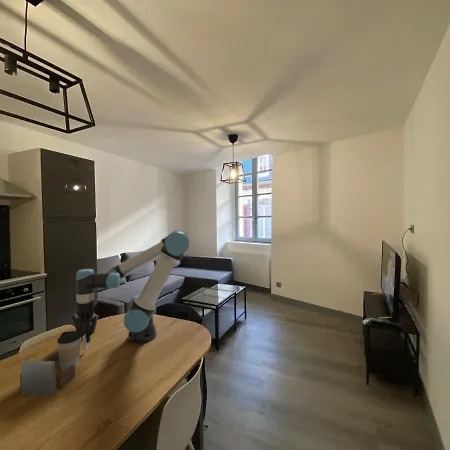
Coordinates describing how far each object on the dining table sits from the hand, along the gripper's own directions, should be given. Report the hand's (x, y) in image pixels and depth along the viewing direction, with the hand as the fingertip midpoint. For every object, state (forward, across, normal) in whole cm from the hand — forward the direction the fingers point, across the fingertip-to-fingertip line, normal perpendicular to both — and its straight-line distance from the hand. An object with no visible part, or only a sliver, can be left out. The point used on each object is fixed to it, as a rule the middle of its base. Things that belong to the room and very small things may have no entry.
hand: (85, 348), depth 123 cm
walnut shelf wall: (+2, +1, +17) cm, 18 cm away
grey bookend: (+2, 0, +28) cm, 29 cm away
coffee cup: (+3, 0, +11) cm, 11 cm away
